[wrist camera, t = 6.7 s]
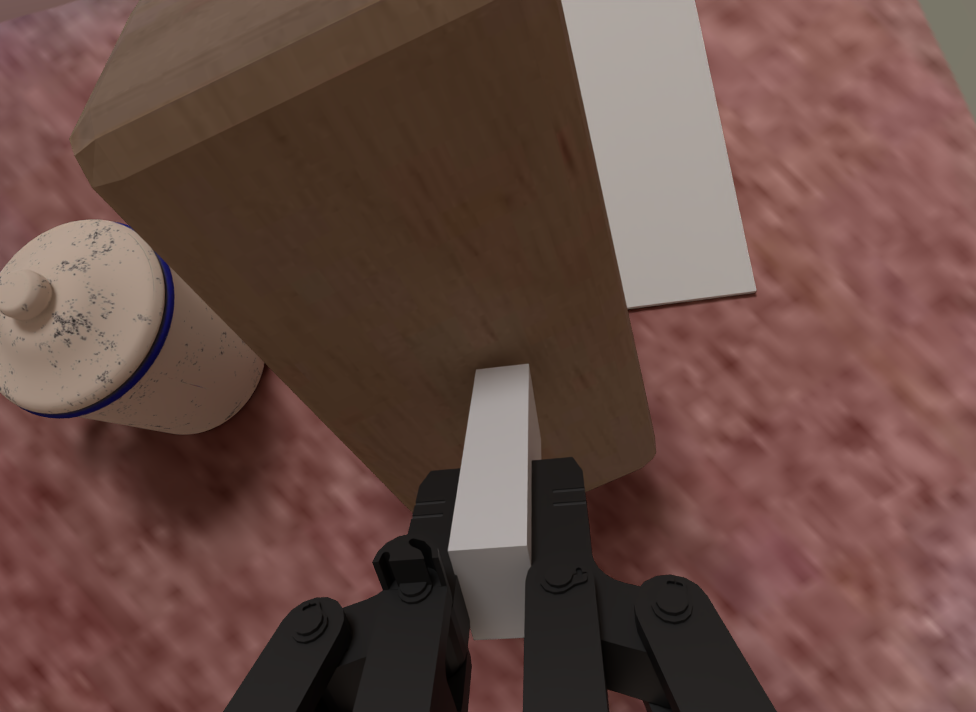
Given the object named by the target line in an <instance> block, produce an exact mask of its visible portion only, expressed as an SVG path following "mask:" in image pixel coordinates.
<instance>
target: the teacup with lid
mask: <svg viewBox="0 0 976 712" xmlns="http://www.w3.org/2000/svg"><path fill="white" fill-rule="evenodd" d="M263 368H264V362H263V361H262V360H261V359H260V358H259V357H258V356H257V355H256V354H255V353H254V352H253V351H252V350H251V348H250V347H249V346H248V345H247V344H246V343H245V342H244V341H243V340H242V339H241V338H240V337H239V336H238V335H237V334H236V333H235V332H234V331H233V330H232V329H231V328H230V327H229V326H228V325H227V324H226V323H225V322H224V321H223V320H222V319H221V318H220V317H219V316H218V315H217V314H216V313H215V312H214V311H213V310H212V309H211V308H210V307H209V306H208V305H207V304H206V303H205V302H204V301H203V300H202V299H201V298H200V297H199V296H198V295H197V294H196V293H195V292H194V291H193V290H192V289H191V288H190V287H189V286H188V285H187V284H186V283H185V282H184V280H183V279H182V278H181V277H180V276H179V275H178V274H177V273H176V272H175V271H174V270H173V269H172V268H171V267H170V266H169V265H168V264H167V263H166V262H165V261H164V260H163V259H162V258H161V257H160V256H159V255H158V254H157V253H156V252H155V251H154V250H153V249H152V248H151V247H150V246H149V245H148V244H147V243H146V242H145V241H144V240H143V239H142V238H141V237H140V236H139V235H138V234H137V233H136V232H135V231H134V230H133V229H132V228H131V227H130V226H128V225H125V224H122V223H118V222H111V221H106V220H81V221H75V222H70V223H66V224H63V225H60V226H58V227H55V228H53V229H50V230H48V231H46V232H44V233H43V234H41V235H39V236H38V237H36V238H35V239H33V240H32V241H30V242H29V243H28V244H26V245H25V246H24V247H23V248H22V249H21V250H20V251H18V252H17V253H16V254H15V255H14V256H13V258H12V259H11V260H10V261H9V262H8V263H7V265H6V266H5V267H4V268H3V270H2V271H1V273H0V392H1V393H2V394H3V395H4V396H5V397H6V398H7V399H8V400H9V401H11V402H13V403H14V404H16V405H17V406H19V407H20V408H22V409H24V410H26V411H28V412H30V413H32V414H35V415H38V416H43V417H48V418H72V417H81V418H87V419H93V420H98V421H104V422H110V423H115V424H121V425H127V426H132V427H138V428H144V429H149V430H155V431H161V432H166V433H172V434H181V435H184V434H196V433H201V432H205V431H207V430H210V429H213V428H215V427H217V426H219V425H221V424H222V423H224V422H226V421H227V420H229V419H230V418H231V417H233V416H234V415H235V414H236V413H237V412H238V411H239V410H240V409H241V408H242V407H243V406H244V405H245V404H246V402H247V401H248V400H249V398H250V397H251V396H252V394H253V392H254V391H255V389H256V387H257V385H258V383H259V380H260V378H261V375H262V372H263Z"/></svg>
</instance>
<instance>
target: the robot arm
mask: <svg viewBox="0 0 976 712" xmlns="http://www.w3.org/2000/svg"><path fill="white" fill-rule="evenodd" d="M415 503H416V505H415V506H414V510H413V515H412V516H413V518H412V519H411V523H410V527H409V532H408V535H403V536H399V537H397V538H395V539H393V540H391V541H389V542H388V543H386V544H385V545H384V546H383V547H382V548H381V549H380V550H379V551H378V552H377V554H376V556H375V558H374V560H373V562H372V563H373V565H374V568H375V571H376V573H377V576H378V578H379V581H380V583H381V586H382V589H383V591H381V592H380V593H379V594H377V595H375V596H373V597H371V598H369V599H367V600H364V601H361V602H358V603H355V604H353V605H350V606H347V607H344V608H342V607H341V606H340V604H339V603H338V601H336V600H333V599H331V598H328V597H321V598H314V599H311V600H308V601H305V602H303V603H301V604H300V605H298V606H297V607H296V608H294V609H293V610H291V612H290V613H289V614H288V615H287V616H286V617H285V618H284V620H283V621H282V622H281V624H280V625H279V627H278V628H277V630H276V631H275V633H274V635H273V636H272V638H271V639H270V641H269V642H268V644H267V645H266V647H265V648H264V650H263V651H262V653H261V654H260V656H259V658H258V659H257V661H256V662H255V664H254V665H253V667H252V668H251V670H250V671H249V673H248V674H247V676H246V677H245V679H244V681H243V682H242V684H241V685H240V687H239V688H238V690H237V691H236V693H235V694H234V696H233V697H232V699H231V701H230V702H229V704H228V705H227V707H226V708H225V710H224V711H223V712H468V703H469V692H470V680H471V669H472V664H471V656H470V652H469V649H468V639H469V629H471V632H472V636H473V639H474V640H487V639H507V638H524V680H523V712H609V702H608V693H607V689H608V690H612V691H615V692H618V693H621V694H625V695H628V696H631V697H634V698H638V699H641V700H643V702H644V705H645V707H646V710H647V712H777V711H776V710H775V708H774V706H773V705H772V703H771V701H770V700H769V698H768V696H767V695H766V693H765V691H764V690H763V688H762V686H761V685H760V683H759V681H758V680H757V678H756V676H755V675H754V673H753V671H752V670H751V668H750V666H749V665H748V663H747V661H746V660H745V658H744V656H743V655H742V653H741V651H740V650H739V648H738V646H737V644H736V643H735V641H734V639H733V638H732V636H731V634H730V633H729V631H728V629H727V628H726V626H725V624H724V623H723V621H722V619H721V618H720V616H719V614H718V613H717V611H716V609H715V608H714V606H713V604H712V603H711V601H710V599H709V598H708V596H707V595H706V594H705V593H704V591H703V590H702V589H701V588H700V587H699V586H698V585H697V584H695V583H693V582H692V581H690V580H688V579H686V578H684V577H679V576H674V575H662V576H655V577H653V578H651V579H649V580H647V581H645V582H644V583H643V584H642V585H641V586H636V585H631V584H627V583H623V582H620V581H617V580H614V579H613V578H611V577H609V576H608V575H606V574H605V573H604V572H602V571H601V570H600V569H599V568H598V566H597V565H596V563H595V561H594V559H593V556H592V547H591V538H590V528H589V519H588V511H587V502H586V494H585V486H584V477H583V470H582V469H581V468H580V466H579V465H578V464H577V462H576V461H575V459H574V458H573V457H565V458H553V459H542V460H541V437H540V430H539V424H538V418H537V412H536V405H535V399H534V393H533V387H532V380H531V374H530V368H529V364H520V365H511V366H502V367H494V368H485V369H476V373H475V380H474V386H473V392H472V399H471V405H470V412H469V418H468V425H467V431H466V437H465V444H464V450H463V457H462V463H461V468H457V469H446V470H434V471H430V472H429V474H428V475H427V476H426V478H425V479H424V480H423V482H422V483H421V484H420V486H419V489H418V493H417V498H416V502H415Z"/></svg>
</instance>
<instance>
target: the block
mask: <svg viewBox="0 0 976 712" xmlns="http://www.w3.org/2000/svg"><path fill="white" fill-rule="evenodd" d="M69 140H70V143H71V146H72V149H73V152H74V156H75V157H76V159H77V161H78V163H79V165H80V167H81V168H82V170H83V172H84V174H85V176H86V178H87V179H88V181H89V183H90V185H91V187H92V188H93V189H94V190H95V191H96V192H97V193H98V194H99V195H100V196H101V197H102V198H103V199H104V200H105V201H106V202H107V203H108V204H109V205H110V206H111V207H112V208H113V209H114V210H115V211H116V212H117V214H118V215H119V216H120V217H121V218H122V219H123V220H124V221H125V222H126V223H127V224H128V225H129V226H130V227H131V228H132V229H133V230H134V231H135V232H136V233H137V234H138V235H139V236H140V237H141V238H142V239H143V240H144V241H145V242H146V243H147V244H148V245H149V246H150V247H151V248H152V249H153V250H154V251H155V252H156V253H157V254H158V255H159V256H160V257H161V258H162V259H163V260H164V261H165V262H166V263H167V264H168V265H169V266H170V267H171V268H172V269H173V270H174V271H175V272H176V273H177V274H178V275H179V276H180V277H181V278H182V279H183V280H184V282H185V283H186V284H187V285H188V286H189V287H190V288H191V289H192V290H193V291H194V292H195V293H196V294H197V295H198V296H199V297H200V298H201V299H202V300H203V301H204V302H205V303H206V304H207V305H208V306H209V307H210V308H211V309H212V310H213V311H214V312H215V313H216V314H217V315H218V316H219V317H220V318H221V319H222V320H223V321H224V322H225V323H226V324H227V325H228V326H229V327H230V328H231V329H232V330H233V331H234V332H235V333H236V334H237V335H238V336H239V337H240V338H241V339H242V340H243V341H244V342H245V343H246V344H247V345H248V346H249V347H250V348H251V350H252V351H253V352H254V353H255V354H256V355H257V356H258V357H259V358H260V359H261V360H262V361H263V362H264V363H265V364H266V365H267V366H268V367H269V368H270V369H271V370H272V371H273V372H274V373H275V374H276V375H277V376H278V377H279V378H280V379H281V380H282V381H283V382H284V383H285V384H286V385H287V386H288V387H289V388H290V389H291V390H292V391H293V392H294V393H295V394H296V395H297V396H298V397H299V398H300V399H301V400H302V401H303V402H304V403H305V404H306V405H307V406H308V407H309V408H310V409H311V410H312V411H313V412H314V413H315V414H316V415H317V416H318V418H319V419H320V420H321V421H322V422H323V423H324V424H325V425H326V426H327V427H328V428H329V429H330V430H331V431H332V432H333V433H334V434H335V435H336V436H337V437H338V438H339V439H340V440H341V441H342V442H343V443H344V444H345V445H346V446H347V447H348V448H349V449H350V450H351V451H352V452H353V453H354V454H355V455H356V456H357V457H358V458H359V459H360V460H361V461H362V462H363V463H364V464H365V465H366V466H367V467H368V468H369V469H370V470H371V471H372V472H373V473H374V474H375V475H376V476H377V477H378V478H379V479H380V480H381V481H382V482H383V483H384V484H385V486H386V487H387V488H388V489H389V490H390V491H391V492H392V493H393V494H394V495H395V496H396V497H397V498H398V499H399V500H400V501H401V502H402V503H403V504H404V505H405V506H406V507H407V508H408V509H409V510H410V511H411V512H412V513H413V510H414V506H415V505H416V503H415V502H416V498H417V493H418V489H419V486H420V484H421V483H422V482H423V480H424V479H425V478H426V476H427V475H428V474H429V472H430V471H434V470H446V469H457V468H461V463H462V457H463V450H464V444H465V437H466V431H467V425H468V418H469V412H470V405H471V399H472V392H473V386H474V380H475V373H476V369H485V368H494V367H502V366H511V365H520V364H529V368H530V374H531V380H532V387H533V393H534V399H535V405H536V412H537V418H538V424H539V430H540V437H541V460H542V459H553V458H565V457H573V458H574V459H575V461H576V462H577V464H578V465H579V466H580V468H581V469H582V470H583V477H584V486H585V492H587V491H590V490H592V489H594V488H597V487H599V486H601V485H604V484H606V483H608V482H611V481H613V480H615V479H618V478H620V477H622V476H625V475H627V474H629V473H632V472H634V471H636V470H639V469H641V468H643V467H644V466H645V465H646V464H647V463H648V462H650V461H651V460H652V459H653V458H654V456H655V454H656V446H655V435H654V430H653V426H652V421H651V416H650V412H649V407H648V402H647V398H646V393H645V388H644V384H643V379H642V375H641V370H640V365H639V361H638V356H637V351H636V347H635V342H634V337H633V333H632V328H631V323H630V319H629V314H628V309H627V305H626V300H625V295H624V291H623V286H622V281H621V277H620V272H619V267H618V263H617V258H616V253H615V249H614V244H613V239H612V235H611V230H610V225H609V221H608V216H607V211H606V207H605V202H604V197H603V193H602V188H601V183H600V179H599V174H598V169H597V165H596V160H595V155H594V151H593V146H592V141H591V137H590V132H589V128H588V123H587V118H586V114H585V109H584V104H583V100H582V95H581V90H580V86H579V81H578V76H577V72H576V67H575V62H574V58H573V53H572V48H571V44H570V39H569V34H568V30H567V25H566V20H565V16H564V11H563V6H562V2H561V0H140V1H139V2H138V4H137V5H136V7H135V8H134V10H133V11H132V13H131V14H130V16H129V18H128V20H127V22H126V24H125V27H124V29H123V31H122V33H121V35H120V37H119V39H118V41H117V43H116V45H115V47H114V49H113V51H112V53H111V55H110V57H109V59H108V61H107V63H106V65H105V67H104V69H103V71H102V73H101V75H100V77H99V79H98V81H97V83H96V86H95V88H94V90H93V92H92V94H91V96H90V98H89V100H88V102H87V104H86V106H85V108H84V110H83V112H82V114H81V116H80V118H79V120H78V122H77V124H76V126H75V128H74V130H73V132H72V134H71V136H70V138H69Z"/></svg>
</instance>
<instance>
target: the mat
mask: <svg viewBox="0 0 976 712" xmlns="http://www.w3.org/2000/svg"><path fill="white" fill-rule="evenodd" d="M561 2H562V6H563V11H564V16H565V20H566V25H567V30H568V34H569V39H570V44H571V48H572V53H573V58H574V62H575V67H576V72H577V76H578V81H579V86H580V90H581V95H582V100H583V104H584V109H585V114H586V118H587V123H588V128H589V132H590V137H591V141H592V146H593V151H594V155H595V160H596V165H597V169H598V174H599V179H600V183H601V188H602V193H603V197H604V202H605V207H606V211H607V216H608V221H609V225H610V230H611V235H612V239H613V244H614V249H615V253H616V258H617V263H618V267H619V272H620V277H621V281H622V286H623V291H624V295H625V300H626V305H627V309H634V308H642V307H650V306H658V305H665V304H673V303H681V302H689V301H696V300H704V299H712V298H719V297H727V296H735V295H743V294H750V293H755V292H756V287H755V282H754V277H753V273H752V268H751V263H750V258H749V254H748V249H747V244H746V240H745V235H744V230H743V226H742V221H741V216H740V211H739V207H738V202H737V197H736V193H735V188H734V183H733V178H732V174H731V169H730V164H729V160H728V155H727V150H726V145H725V141H724V136H723V131H722V127H721V122H720V117H719V112H718V108H717V103H716V98H715V94H714V89H713V84H712V79H711V75H710V70H709V65H708V61H707V56H706V51H705V46H704V42H703V37H702V32H701V28H700V23H699V18H698V13H697V9H696V4H695V0H561Z"/></svg>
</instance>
